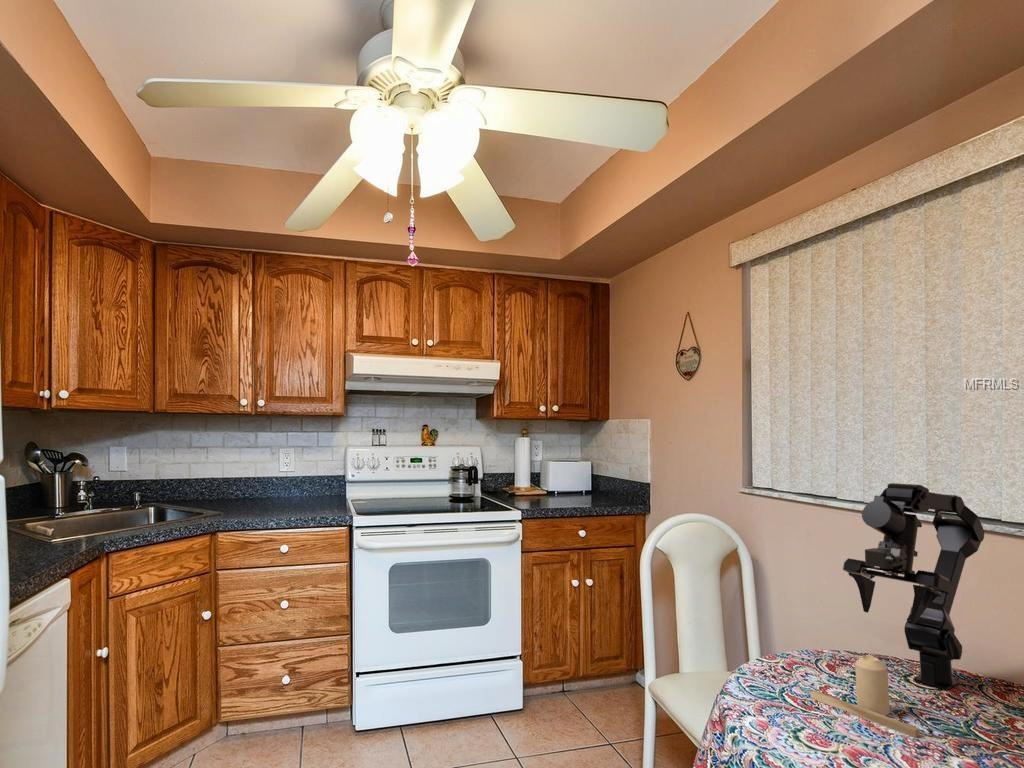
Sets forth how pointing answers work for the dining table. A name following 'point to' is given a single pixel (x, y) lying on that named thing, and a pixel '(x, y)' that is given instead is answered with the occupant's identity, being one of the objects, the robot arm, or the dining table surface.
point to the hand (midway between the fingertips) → (888, 617)
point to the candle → (872, 685)
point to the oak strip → (866, 714)
